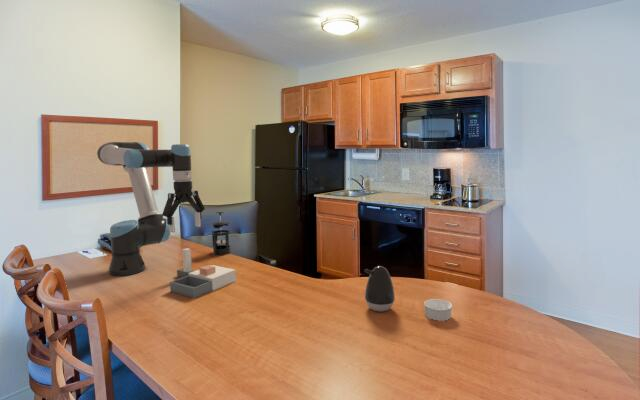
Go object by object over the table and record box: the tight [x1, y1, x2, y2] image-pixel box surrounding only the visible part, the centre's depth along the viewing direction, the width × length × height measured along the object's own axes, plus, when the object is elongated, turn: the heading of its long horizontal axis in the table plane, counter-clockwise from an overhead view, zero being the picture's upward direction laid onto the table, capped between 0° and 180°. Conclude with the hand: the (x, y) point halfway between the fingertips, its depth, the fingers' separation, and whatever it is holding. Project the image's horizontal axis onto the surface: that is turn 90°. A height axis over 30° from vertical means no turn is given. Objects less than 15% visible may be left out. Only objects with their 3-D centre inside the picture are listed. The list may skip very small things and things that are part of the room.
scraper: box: [176, 247, 194, 278], centre depth 162 cm, size 11×3×13 cm, turn 59°
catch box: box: [169, 276, 213, 299], centre depth 146 cm, size 14×9×4 cm, turn 59°
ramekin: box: [423, 298, 453, 322], centre depth 121 cm, size 9×9×4 cm
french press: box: [211, 211, 232, 256], centre depth 202 cm, size 12×9×23 cm
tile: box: [198, 264, 216, 275], centre depth 153 cm, size 4×4×2 cm
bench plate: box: [189, 264, 237, 292], centre depth 155 cm, size 14×13×5 cm
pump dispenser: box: [364, 265, 396, 313], centre depth 127 cm, size 10×10×15 cm
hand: (185, 229), depth 160 cm, fingers open, 13 cm apart
